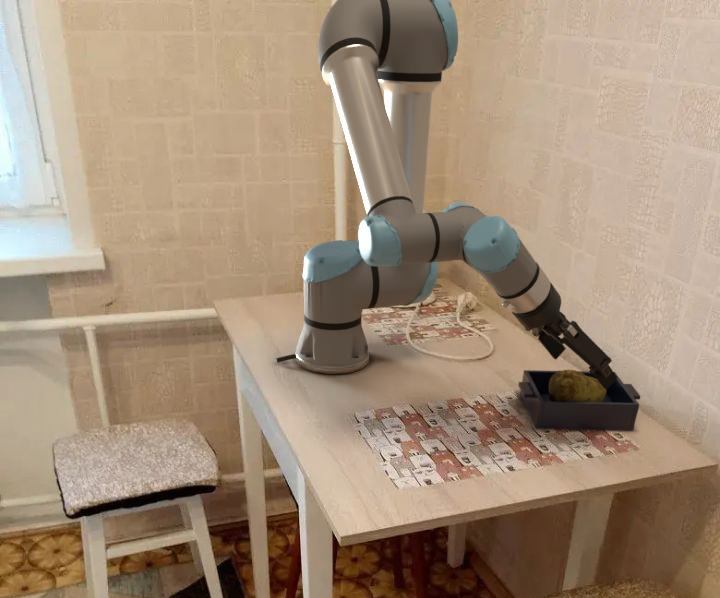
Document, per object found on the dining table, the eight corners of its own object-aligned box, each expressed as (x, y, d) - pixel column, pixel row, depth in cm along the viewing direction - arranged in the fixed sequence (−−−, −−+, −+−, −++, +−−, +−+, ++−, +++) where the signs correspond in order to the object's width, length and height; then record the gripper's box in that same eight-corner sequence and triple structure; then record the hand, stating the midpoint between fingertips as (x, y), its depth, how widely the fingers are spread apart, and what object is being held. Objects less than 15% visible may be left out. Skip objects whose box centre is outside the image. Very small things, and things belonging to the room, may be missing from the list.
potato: (618, 416, 134) (628, 376, 129) (554, 423, 131) (562, 382, 126) (595, 396, 140) (604, 357, 136) (533, 402, 138) (540, 363, 133)
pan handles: (523, 397, 132) (524, 394, 131) (518, 385, 136) (518, 381, 136) (639, 399, 132) (640, 396, 132) (630, 387, 137) (631, 383, 136)
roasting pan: (535, 428, 130) (540, 403, 127) (519, 394, 142) (523, 370, 139) (633, 430, 131) (639, 404, 128) (609, 396, 142) (614, 371, 140)
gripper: (471, 290, 128) (527, 357, 142) (564, 342, 109) (618, 413, 123) (500, 256, 127) (553, 327, 141) (599, 303, 108) (650, 379, 122)
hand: (584, 367), depth 132 cm, fingers open, 13 cm apart
